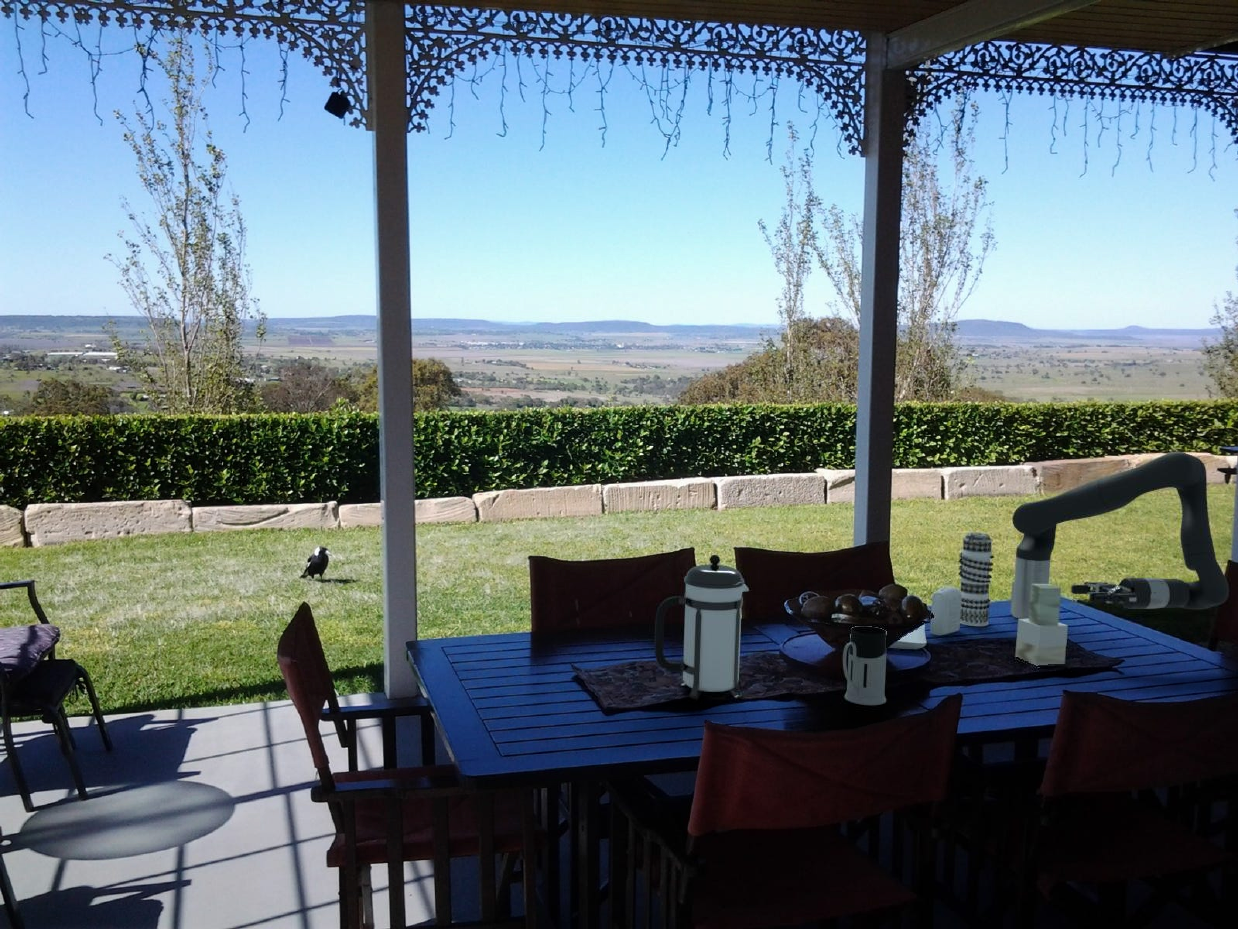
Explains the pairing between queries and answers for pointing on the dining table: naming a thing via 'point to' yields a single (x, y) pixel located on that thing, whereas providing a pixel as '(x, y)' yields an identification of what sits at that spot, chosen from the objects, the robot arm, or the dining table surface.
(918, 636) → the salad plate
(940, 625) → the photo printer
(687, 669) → the coffee press
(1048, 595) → the sage block
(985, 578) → the decorative candle
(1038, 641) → the grey block
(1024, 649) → the ash block
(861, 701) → the glass holder
